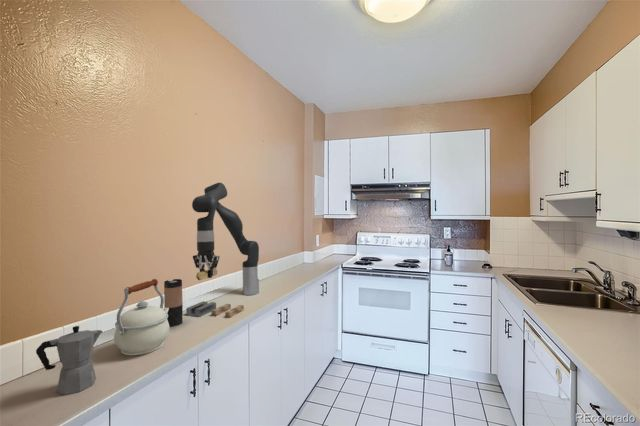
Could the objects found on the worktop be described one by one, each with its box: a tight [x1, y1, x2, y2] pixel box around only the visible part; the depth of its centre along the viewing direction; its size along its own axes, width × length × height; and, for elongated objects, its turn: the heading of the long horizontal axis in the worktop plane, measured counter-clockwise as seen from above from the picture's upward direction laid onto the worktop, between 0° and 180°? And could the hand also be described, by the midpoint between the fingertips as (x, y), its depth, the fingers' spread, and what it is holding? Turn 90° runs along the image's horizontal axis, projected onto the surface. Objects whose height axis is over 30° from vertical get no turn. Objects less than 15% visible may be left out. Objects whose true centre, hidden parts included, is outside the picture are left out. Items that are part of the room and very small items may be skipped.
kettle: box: [113, 278, 170, 357], centre depth 118 cm, size 25×18×25 cm
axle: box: [195, 268, 218, 281], centre depth 140 cm, size 10×4×4 cm, turn 161°
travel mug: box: [163, 278, 184, 327], centre depth 140 cm, size 8×8×20 cm
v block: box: [185, 300, 217, 318], centre depth 156 cm, size 12×9×4 cm
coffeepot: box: [35, 325, 104, 395], centre depth 90 cm, size 15×9×18 cm, turn 137°
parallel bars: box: [211, 303, 245, 319], centre depth 154 cm, size 12×11×2 cm
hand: (206, 277), depth 140 cm, fingers closed on axle, 3 cm apart
